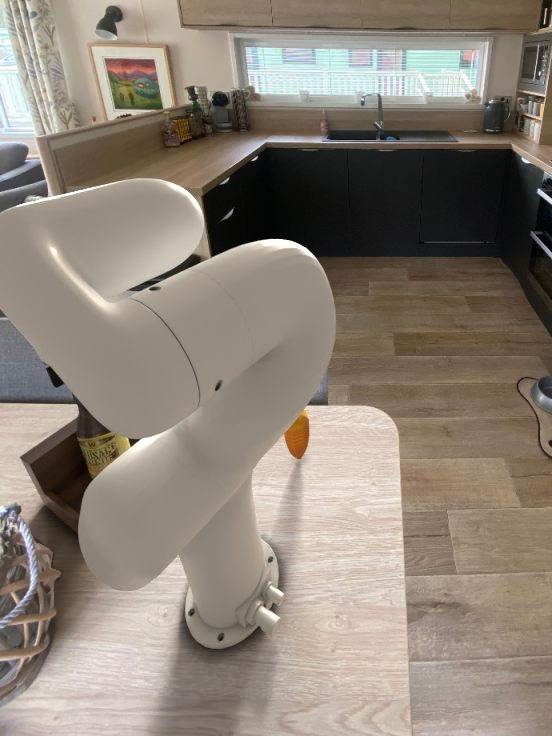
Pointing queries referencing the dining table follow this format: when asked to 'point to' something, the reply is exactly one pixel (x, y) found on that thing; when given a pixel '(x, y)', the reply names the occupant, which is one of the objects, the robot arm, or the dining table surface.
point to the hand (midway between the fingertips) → (83, 391)
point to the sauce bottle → (97, 441)
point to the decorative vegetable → (298, 436)
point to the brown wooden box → (61, 472)
